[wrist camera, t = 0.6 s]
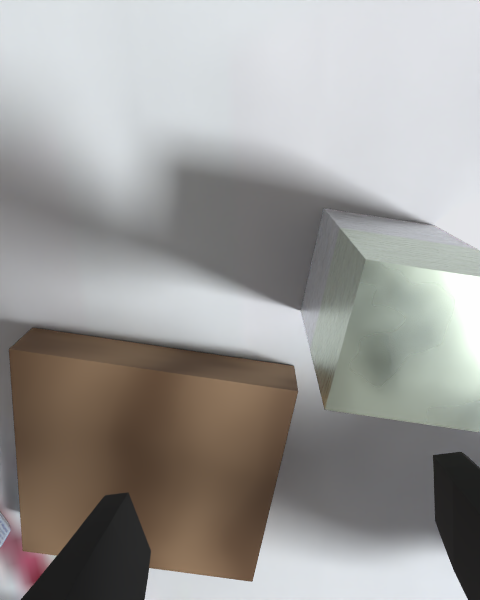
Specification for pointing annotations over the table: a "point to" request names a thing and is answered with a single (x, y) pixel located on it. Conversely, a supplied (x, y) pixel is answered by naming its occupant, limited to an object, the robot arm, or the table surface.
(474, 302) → the block
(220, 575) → the walnut stand
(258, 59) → the table surface
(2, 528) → the medicine box
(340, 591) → the table surface
